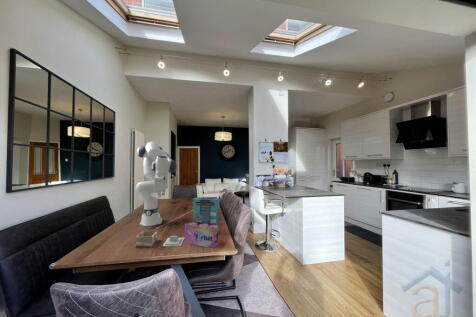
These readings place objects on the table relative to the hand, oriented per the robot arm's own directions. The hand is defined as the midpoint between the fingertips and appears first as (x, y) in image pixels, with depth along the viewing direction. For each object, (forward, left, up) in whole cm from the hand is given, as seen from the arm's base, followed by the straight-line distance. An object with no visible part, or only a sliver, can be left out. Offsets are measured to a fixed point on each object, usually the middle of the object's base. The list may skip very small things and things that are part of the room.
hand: (161, 196), depth 142 cm
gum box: (+10, +30, -31) cm, 45 cm away
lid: (+7, +11, -31) cm, 33 cm away
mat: (+6, +11, -31) cm, 33 cm away
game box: (-12, +32, -31) cm, 46 cm away
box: (+7, -7, -31) cm, 33 cm away
